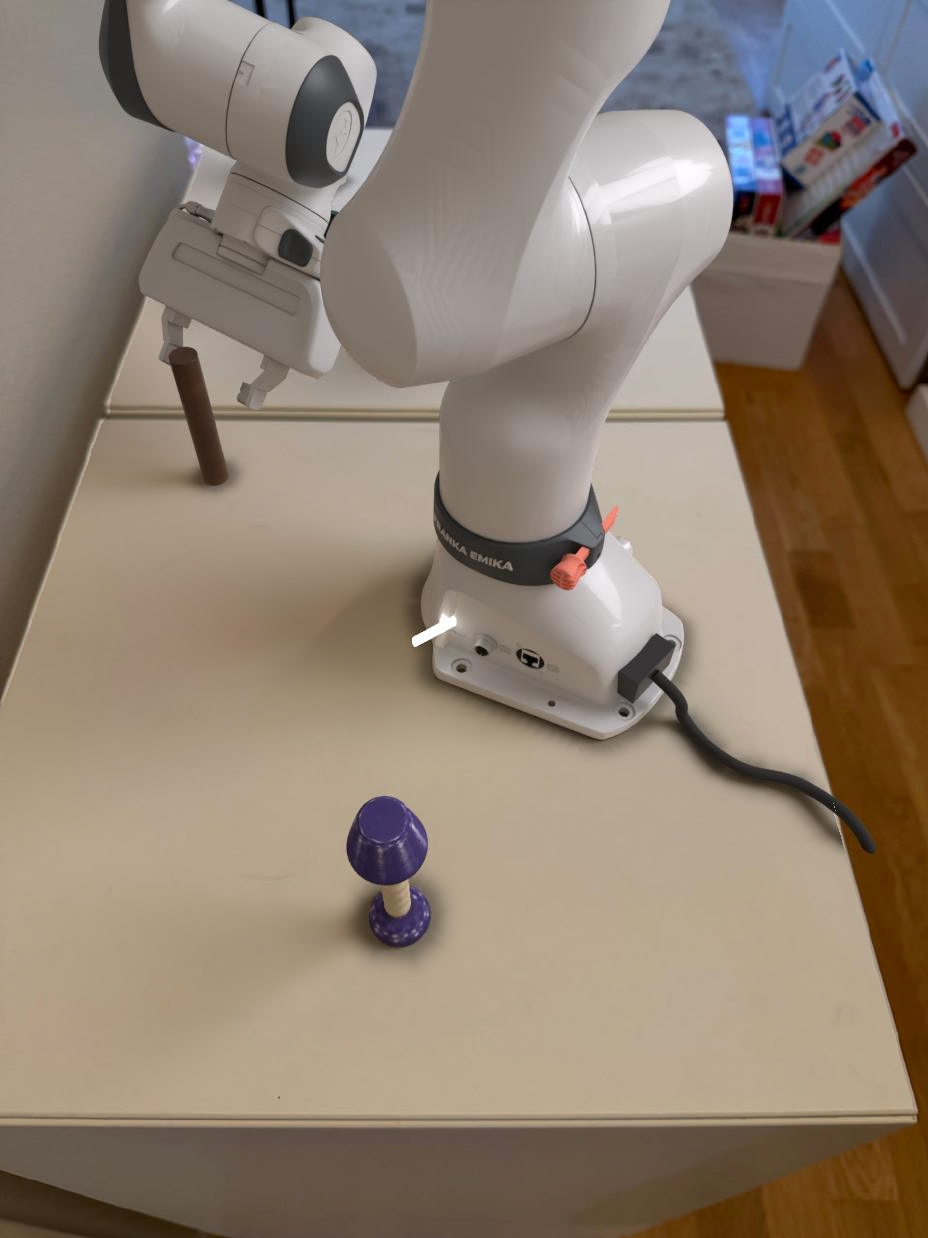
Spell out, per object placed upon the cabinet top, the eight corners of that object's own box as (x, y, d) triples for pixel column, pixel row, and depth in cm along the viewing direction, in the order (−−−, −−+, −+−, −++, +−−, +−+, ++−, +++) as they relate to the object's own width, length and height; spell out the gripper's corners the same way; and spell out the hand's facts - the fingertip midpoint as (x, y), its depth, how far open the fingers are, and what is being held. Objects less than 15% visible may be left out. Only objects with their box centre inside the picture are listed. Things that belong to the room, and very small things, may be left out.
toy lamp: (433, 953, 62) (429, 855, 48) (363, 959, 61) (340, 861, 48) (429, 884, 64) (424, 772, 51) (362, 888, 64) (340, 778, 51)
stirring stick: (234, 474, 88) (203, 353, 77) (216, 489, 87) (182, 367, 76) (215, 464, 89) (182, 342, 78) (198, 478, 88) (162, 357, 77)
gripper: (154, 179, 79) (100, 333, 82) (338, 261, 72) (272, 425, 75) (202, 207, 85) (150, 349, 88) (377, 285, 78) (314, 436, 81)
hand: (208, 385), depth 81 cm, fingers open, 8 cm apart
